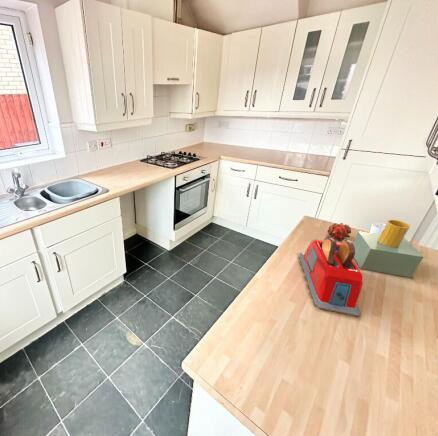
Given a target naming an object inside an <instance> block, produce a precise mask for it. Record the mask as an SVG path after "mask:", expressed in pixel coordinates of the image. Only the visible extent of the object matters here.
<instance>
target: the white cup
mask: <svg viewBox="0 0 438 436" xmlns="http://www.w3.org/2000/svg"><path fill="white" fill-rule="evenodd" d="M385 225H386V223H383V222H373V223H372V224H371V227H370V229H369V232H368V233H375V234H381V232H382V230H383V228H384V227H385Z"/></svg>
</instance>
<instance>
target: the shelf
mask: <svg viewBox="0 0 438 436" xmlns="http://www.w3.org/2000/svg"><path fill="white" fill-rule="evenodd" d="M379 236H380V234H375V233H369V232H366V231H361V230H358V231H357V232H356V235H355V236H354V239H353V241H352V243H353V245H354V247H355V256H354V258H353V259H354V260H355V261H356V263H357V265H358V267H359V269H361V270H367V271H372V272H378V273H383V274H389V275H395V276H401V277H406V278H411V277H412V276H413V274H414V273H415V272H416V270H417V268H418V267H419V265H420V263H421V262H422V261H423V259H424V257H425V256H423V254H422V253H420V251H418V249H417V248H415V247H414V246H413V244H411V242H409V241H408V240H407V239H406V238H405V237H404V238H403V240H402V242H401V243H400V245H399V247H388V246H385V245H383V244H381V243H379V242H378V238H379Z"/></svg>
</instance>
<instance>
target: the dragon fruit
mask: <svg viewBox="0 0 438 436" xmlns="http://www.w3.org/2000/svg"><path fill="white" fill-rule="evenodd" d="M327 233H328V236H329V237H328V238H333V239H334V240H337V239H338V241H343V240H344V239H345V240H346V238H347V239H349V238H351V235H350V234H352V228H351V227H350V225H349V224H344V223H343V222H340V223H333V224H332V225H329V227H328V229H327Z"/></svg>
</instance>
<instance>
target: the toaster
mask: <svg viewBox="0 0 438 436" xmlns="http://www.w3.org/2000/svg"><path fill="white" fill-rule="evenodd" d="M298 255H299V260H300V263H301V266H302V269H303V272H304V275H305V278H306V281H307V284H308V287H309V291H310V293H311V296H312V299H313V302H314V304H315V306H316V307H317V309H320V310H325V311H329V312H333V313H339V314H342V315H343V314H344V315H348V316H352V317H356V318H357V317H360V315H361V312H360V310H359V306H358V304H357V303H358V300H359V297H360V294H361V292H362V288H363V274H362V272H361V271H360V268H359V266H357V264H356V263H355V261H354V259H355V258H354V256H355V247H354V245H353V241H352V240H351V239H346V238H345V239H344V240H341V242H337V241H336V239H333V238H329V237H325V238H323V240H322V239H321V240H320V239H313V240H311V241H310V242H309V244H308V246H307V248H306V249H305V252H300V253H299V254H298Z"/></svg>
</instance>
